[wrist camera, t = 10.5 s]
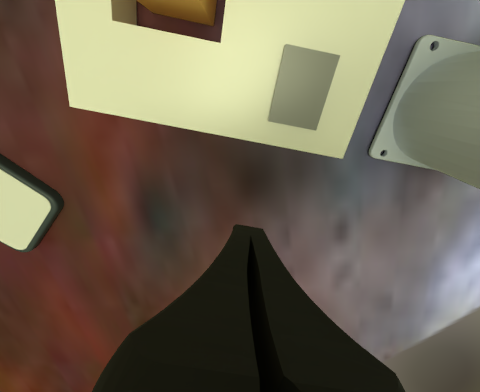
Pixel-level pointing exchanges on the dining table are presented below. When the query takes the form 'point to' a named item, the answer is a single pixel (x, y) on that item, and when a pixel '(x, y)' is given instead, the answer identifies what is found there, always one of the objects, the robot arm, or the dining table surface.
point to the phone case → (25, 207)
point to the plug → (184, 9)
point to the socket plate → (233, 68)
